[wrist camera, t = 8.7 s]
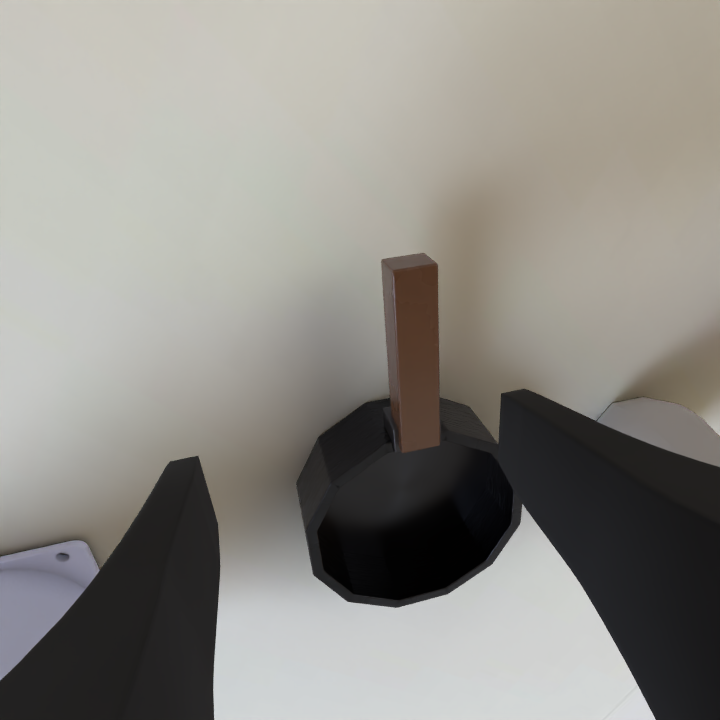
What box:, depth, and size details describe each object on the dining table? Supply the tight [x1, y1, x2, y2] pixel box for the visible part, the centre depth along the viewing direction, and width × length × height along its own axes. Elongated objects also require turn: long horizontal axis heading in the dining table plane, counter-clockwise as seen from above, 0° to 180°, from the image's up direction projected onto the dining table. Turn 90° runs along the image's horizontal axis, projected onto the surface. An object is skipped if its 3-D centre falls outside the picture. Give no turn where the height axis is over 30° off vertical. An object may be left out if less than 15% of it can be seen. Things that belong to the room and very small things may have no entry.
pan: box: [296, 253, 522, 608], centre depth 23 cm, size 17×10×4 cm, turn 5°
